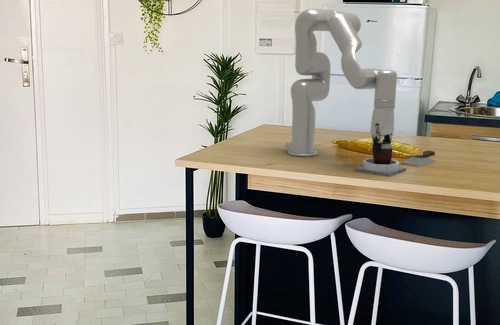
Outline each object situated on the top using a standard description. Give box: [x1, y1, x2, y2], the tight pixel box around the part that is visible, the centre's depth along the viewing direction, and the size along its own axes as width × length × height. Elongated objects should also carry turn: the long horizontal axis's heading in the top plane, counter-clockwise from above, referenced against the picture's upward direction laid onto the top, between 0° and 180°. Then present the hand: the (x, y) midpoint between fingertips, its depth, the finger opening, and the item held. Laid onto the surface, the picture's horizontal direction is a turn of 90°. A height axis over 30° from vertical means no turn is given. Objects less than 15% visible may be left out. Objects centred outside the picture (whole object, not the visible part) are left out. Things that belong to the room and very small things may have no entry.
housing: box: [354, 157, 407, 178], centre depth 225 cm, size 14×14×4 cm
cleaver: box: [401, 150, 436, 168], centre depth 246 cm, size 30×10×2 cm, turn 147°
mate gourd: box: [372, 133, 393, 165], centre depth 223 cm, size 8×8×15 cm
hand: (381, 151), depth 224 cm, fingers closed on mate gourd, 7 cm apart
